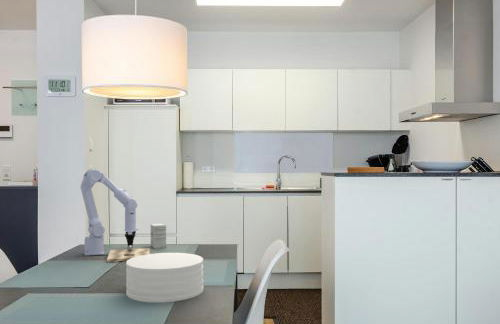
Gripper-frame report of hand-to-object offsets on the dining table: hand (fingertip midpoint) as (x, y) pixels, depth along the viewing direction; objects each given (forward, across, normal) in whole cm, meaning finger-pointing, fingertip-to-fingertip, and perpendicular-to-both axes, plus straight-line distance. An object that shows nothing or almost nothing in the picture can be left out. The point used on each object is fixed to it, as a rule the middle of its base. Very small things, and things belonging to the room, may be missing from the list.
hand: (130, 245), depth 245 cm
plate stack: (+3, -84, -15) cm, 85 cm away
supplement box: (+2, +6, -15) cm, 16 cm away
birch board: (+2, -17, 0) cm, 17 cm away
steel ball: (-1, -11, 0) cm, 11 cm away
